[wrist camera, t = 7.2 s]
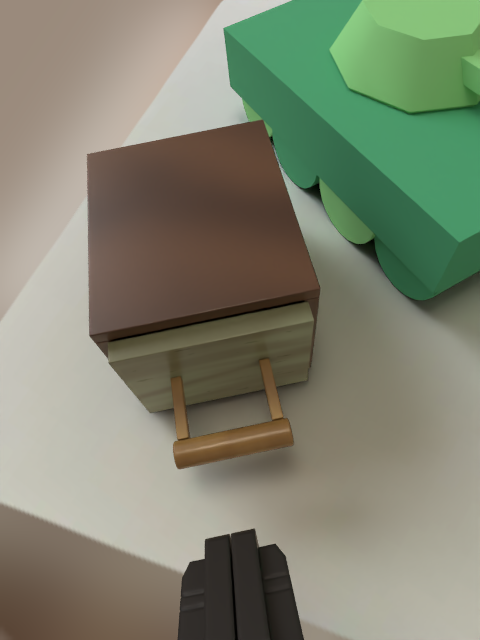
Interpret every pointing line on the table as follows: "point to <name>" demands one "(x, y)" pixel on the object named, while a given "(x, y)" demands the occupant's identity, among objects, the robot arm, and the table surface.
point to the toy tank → (376, 123)
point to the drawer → (219, 374)
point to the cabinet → (191, 233)
